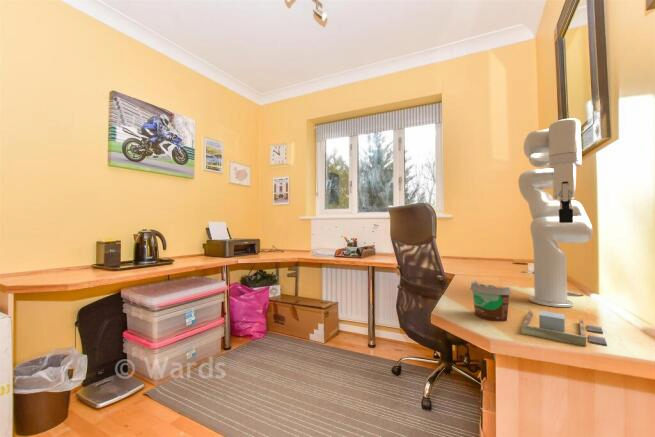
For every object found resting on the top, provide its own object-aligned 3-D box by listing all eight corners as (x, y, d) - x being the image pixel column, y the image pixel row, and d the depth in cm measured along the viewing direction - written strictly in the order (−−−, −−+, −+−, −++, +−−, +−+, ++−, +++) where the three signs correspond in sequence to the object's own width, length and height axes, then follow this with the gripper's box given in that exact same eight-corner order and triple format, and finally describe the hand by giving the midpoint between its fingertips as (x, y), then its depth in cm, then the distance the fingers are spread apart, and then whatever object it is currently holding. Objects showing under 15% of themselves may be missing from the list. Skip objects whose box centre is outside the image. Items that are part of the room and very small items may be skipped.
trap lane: (529, 315, 91) (529, 308, 91) (600, 326, 80) (600, 319, 80) (521, 333, 75) (521, 325, 75) (608, 350, 65) (608, 341, 65)
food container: (461, 312, 93) (461, 281, 93) (475, 310, 95) (475, 280, 96) (497, 324, 82) (496, 289, 82) (511, 322, 84) (511, 287, 84)
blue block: (541, 329, 78) (540, 310, 79) (565, 333, 75) (564, 314, 75) (539, 334, 75) (539, 314, 75) (564, 339, 71) (564, 319, 72)
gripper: (550, 167, 95) (551, 223, 95) (547, 159, 84) (548, 222, 83) (580, 164, 90) (581, 222, 90) (582, 155, 79) (583, 222, 78)
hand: (566, 222), depth 86 cm, fingers closed
